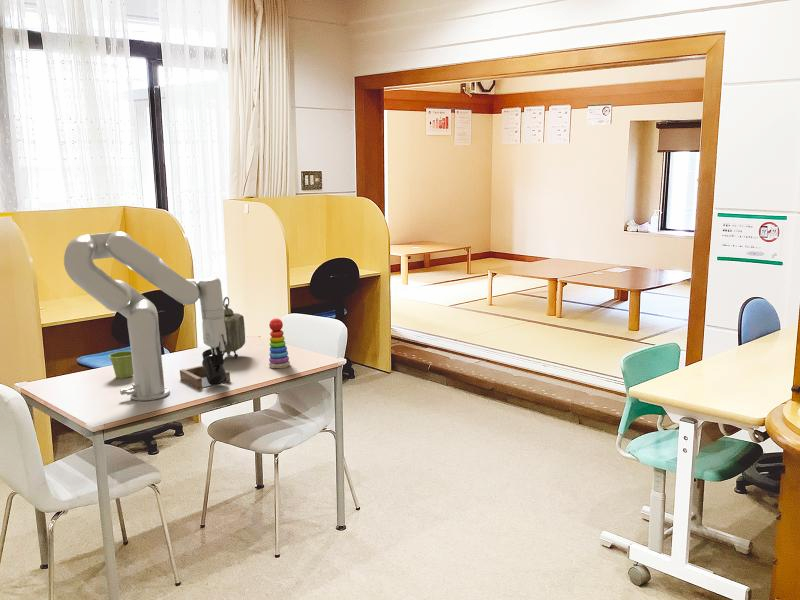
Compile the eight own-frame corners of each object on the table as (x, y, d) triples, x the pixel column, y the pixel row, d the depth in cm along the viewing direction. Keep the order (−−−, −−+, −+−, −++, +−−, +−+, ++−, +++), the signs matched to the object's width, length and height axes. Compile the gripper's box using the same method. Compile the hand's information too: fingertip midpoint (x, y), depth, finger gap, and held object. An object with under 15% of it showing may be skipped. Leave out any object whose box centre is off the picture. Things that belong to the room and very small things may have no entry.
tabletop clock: (225, 353, 297) (221, 294, 293) (247, 353, 297) (242, 293, 292) (214, 363, 283) (209, 300, 279) (237, 362, 283) (232, 300, 278)
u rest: (198, 389, 250) (197, 379, 250) (180, 379, 262) (179, 370, 262) (230, 381, 258) (229, 372, 257) (211, 372, 270) (211, 363, 269)
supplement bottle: (221, 372, 248) (210, 344, 254) (204, 382, 249) (195, 354, 254) (231, 378, 254) (221, 350, 260) (215, 387, 255) (205, 360, 261)
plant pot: (107, 380, 264) (105, 358, 262) (115, 373, 273) (112, 351, 271) (133, 379, 265) (131, 356, 263) (140, 372, 274) (138, 350, 272)
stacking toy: (291, 363, 280) (288, 316, 276) (288, 368, 272) (285, 320, 268) (270, 363, 280) (267, 316, 276) (267, 369, 272) (264, 321, 268)
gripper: (193, 312, 251) (199, 363, 255) (211, 318, 239) (217, 371, 243) (213, 308, 255) (219, 358, 259) (232, 314, 244) (238, 366, 248)
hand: (218, 364), depth 251 cm, fingers closed
